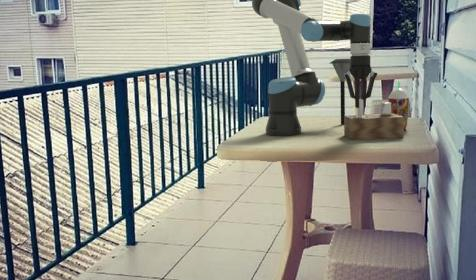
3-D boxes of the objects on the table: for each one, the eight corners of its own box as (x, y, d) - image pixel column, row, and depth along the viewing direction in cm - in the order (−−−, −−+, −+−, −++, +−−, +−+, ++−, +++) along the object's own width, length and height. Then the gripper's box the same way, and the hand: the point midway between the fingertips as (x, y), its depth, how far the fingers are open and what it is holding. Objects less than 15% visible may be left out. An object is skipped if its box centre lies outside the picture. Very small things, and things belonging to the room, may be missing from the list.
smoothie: (409, 131, 218) (410, 82, 214) (388, 131, 219) (389, 82, 216) (407, 128, 226) (408, 81, 222) (387, 128, 227) (387, 81, 224)
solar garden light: (357, 126, 238) (356, 58, 233) (329, 126, 239) (328, 59, 235) (355, 122, 249) (355, 58, 245) (329, 123, 251) (328, 59, 247)
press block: (352, 140, 202) (351, 119, 200) (344, 135, 214) (344, 115, 212) (403, 137, 203) (403, 116, 201) (393, 133, 214) (393, 113, 213)
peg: (382, 123, 205) (382, 103, 204) (379, 122, 209) (379, 102, 208) (392, 122, 206) (392, 103, 204) (389, 121, 209) (389, 102, 208)
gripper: (345, 55, 199) (346, 118, 203) (380, 54, 199) (379, 116, 203) (341, 55, 206) (341, 115, 210) (374, 54, 207) (374, 114, 211)
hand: (360, 116), depth 207 cm, fingers closed
